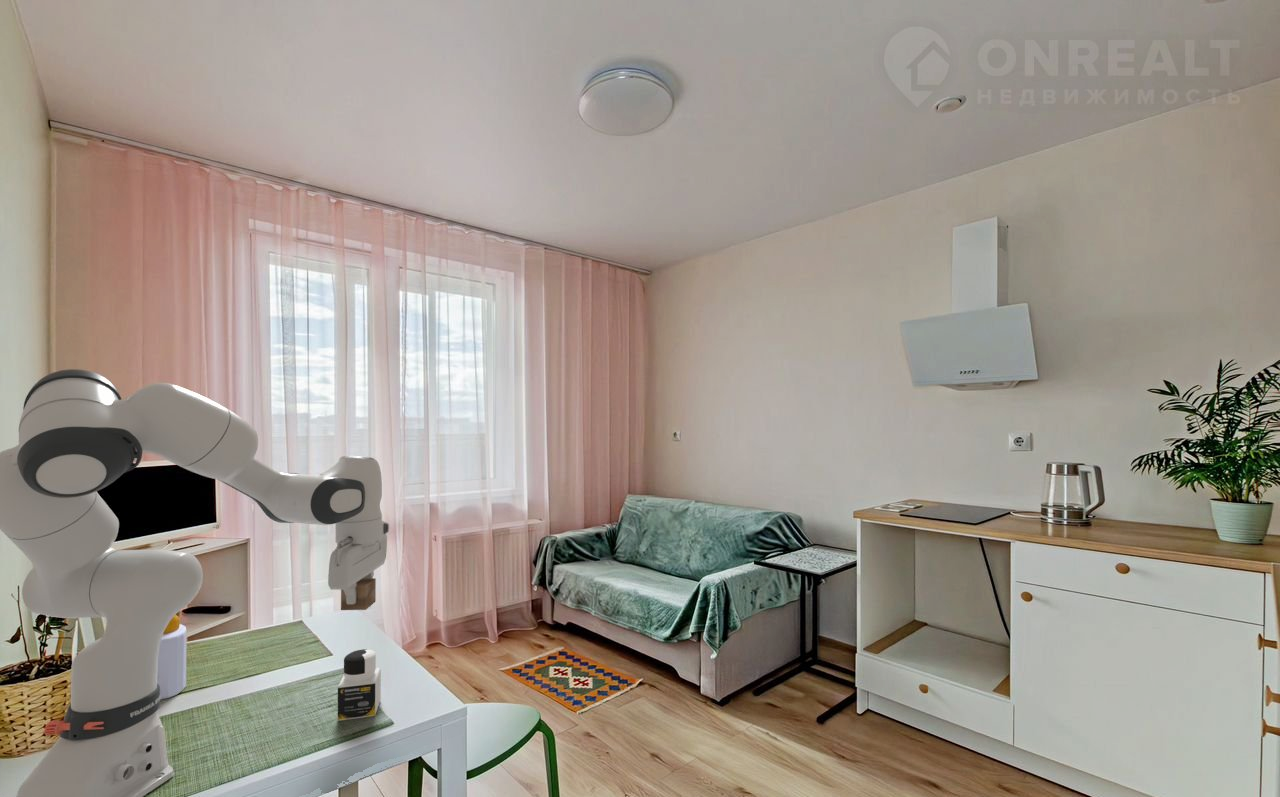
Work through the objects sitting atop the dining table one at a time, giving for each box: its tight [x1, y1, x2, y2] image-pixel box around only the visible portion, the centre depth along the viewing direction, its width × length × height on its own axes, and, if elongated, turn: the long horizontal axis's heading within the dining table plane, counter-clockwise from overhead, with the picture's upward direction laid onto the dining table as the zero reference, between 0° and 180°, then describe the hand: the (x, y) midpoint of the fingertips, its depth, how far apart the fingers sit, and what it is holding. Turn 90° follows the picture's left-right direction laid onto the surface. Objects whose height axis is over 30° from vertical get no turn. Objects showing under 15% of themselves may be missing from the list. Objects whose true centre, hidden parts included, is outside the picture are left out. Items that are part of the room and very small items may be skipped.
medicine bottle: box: [337, 648, 382, 722], centre depth 123 cm, size 7×7×12 cm
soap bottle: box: [157, 614, 188, 701], centre depth 133 cm, size 13×8×20 cm, turn 46°
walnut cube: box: [340, 577, 377, 611], centre depth 123 cm, size 5×5×5 cm
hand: (359, 598), depth 123 cm, fingers closed on walnut cube, 5 cm apart
